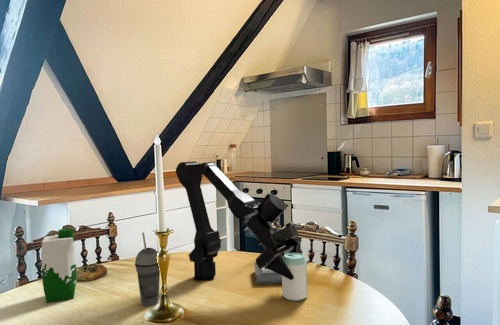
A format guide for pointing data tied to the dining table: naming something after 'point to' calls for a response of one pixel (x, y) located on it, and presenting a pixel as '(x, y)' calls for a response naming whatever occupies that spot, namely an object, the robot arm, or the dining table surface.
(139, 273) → the beverage cup
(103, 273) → the bread roll
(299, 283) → the can
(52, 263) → the milk carton
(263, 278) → the grey rectangular tray
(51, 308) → the dining table surface
